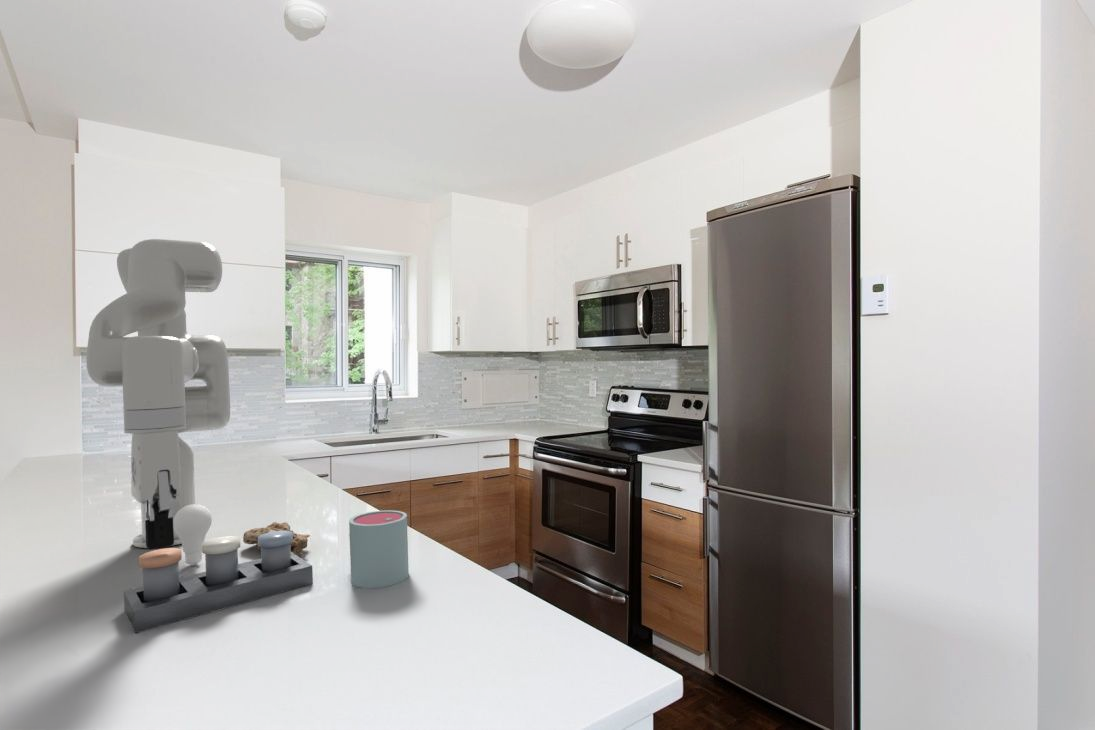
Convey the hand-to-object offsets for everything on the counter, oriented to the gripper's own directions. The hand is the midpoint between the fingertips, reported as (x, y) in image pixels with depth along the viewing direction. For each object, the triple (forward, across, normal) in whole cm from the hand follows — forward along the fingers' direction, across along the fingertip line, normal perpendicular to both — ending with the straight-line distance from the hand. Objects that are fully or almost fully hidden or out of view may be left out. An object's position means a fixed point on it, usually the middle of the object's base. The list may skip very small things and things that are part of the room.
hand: (160, 545), depth 86 cm
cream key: (+7, 0, +8) cm, 11 cm away
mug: (+10, +8, +29) cm, 32 cm away
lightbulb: (+10, -20, +8) cm, 24 cm away
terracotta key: (+7, 0, 0) cm, 7 cm away
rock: (+10, -18, +23) cm, 31 cm away
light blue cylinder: (+8, 0, +16) cm, 18 cm away
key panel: (+10, 0, +8) cm, 13 cm away
